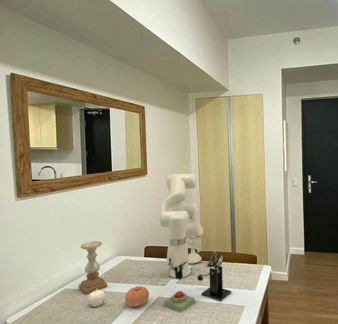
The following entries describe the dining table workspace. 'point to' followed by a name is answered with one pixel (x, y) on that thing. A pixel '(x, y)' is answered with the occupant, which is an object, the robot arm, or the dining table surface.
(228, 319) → the dining table surface
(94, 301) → the plain white apple
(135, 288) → the orange pumpkin
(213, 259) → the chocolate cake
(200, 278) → the lever
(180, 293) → the button
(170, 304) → the control block
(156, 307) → the dining table surface
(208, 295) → the bracket
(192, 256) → the flower in vase
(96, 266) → the candle holder
